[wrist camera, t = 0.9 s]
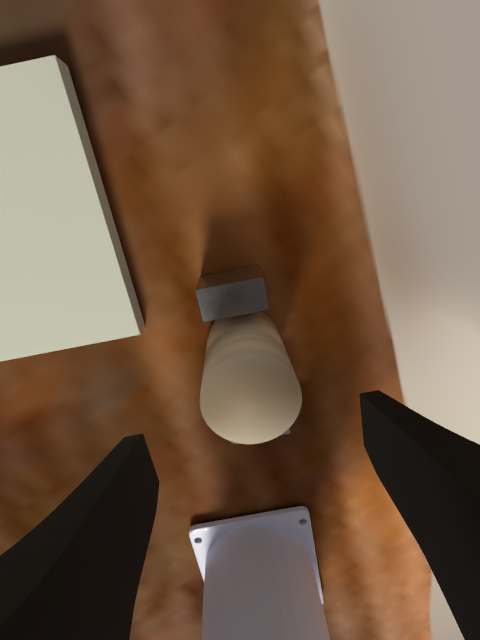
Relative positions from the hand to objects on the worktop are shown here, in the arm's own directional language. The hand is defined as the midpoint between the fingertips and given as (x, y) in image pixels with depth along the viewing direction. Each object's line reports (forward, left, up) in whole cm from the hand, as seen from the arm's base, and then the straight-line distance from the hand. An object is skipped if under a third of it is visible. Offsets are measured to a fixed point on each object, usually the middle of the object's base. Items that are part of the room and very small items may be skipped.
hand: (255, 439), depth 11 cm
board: (+8, +10, -8) cm, 15 cm away
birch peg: (0, 0, -8) cm, 8 cm away
